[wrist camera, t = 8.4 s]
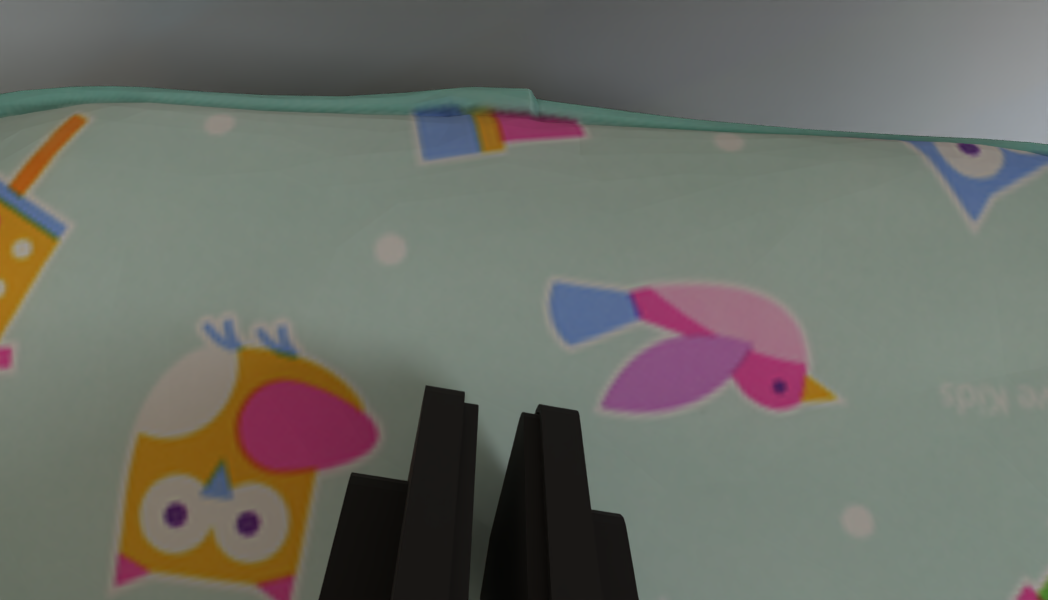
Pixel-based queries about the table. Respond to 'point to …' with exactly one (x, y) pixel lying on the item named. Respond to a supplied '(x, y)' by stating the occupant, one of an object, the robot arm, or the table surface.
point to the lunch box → (515, 338)
